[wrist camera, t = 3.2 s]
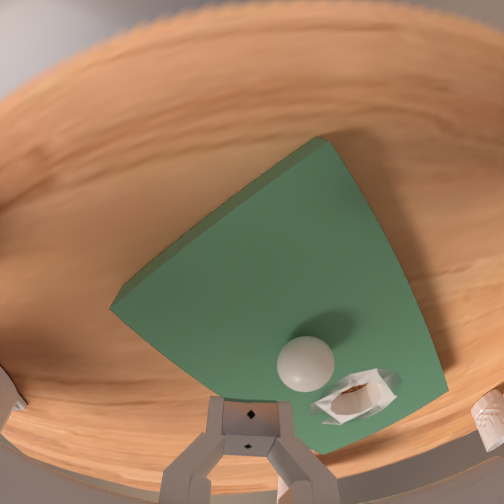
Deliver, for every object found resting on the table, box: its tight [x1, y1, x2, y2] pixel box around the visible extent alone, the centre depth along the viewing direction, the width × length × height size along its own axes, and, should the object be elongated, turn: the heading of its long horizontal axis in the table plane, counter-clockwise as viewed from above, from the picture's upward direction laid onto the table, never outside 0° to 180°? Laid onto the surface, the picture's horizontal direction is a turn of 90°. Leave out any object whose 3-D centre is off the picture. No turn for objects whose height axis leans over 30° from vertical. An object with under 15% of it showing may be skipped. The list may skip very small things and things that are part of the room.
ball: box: [277, 336, 335, 392], centre depth 19 cm, size 4×4×4 cm
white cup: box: [471, 389, 504, 452], centre depth 32 cm, size 8×8×10 cm
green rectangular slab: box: [110, 136, 449, 455], centre depth 24 cm, size 18×32×3 cm, turn 37°
